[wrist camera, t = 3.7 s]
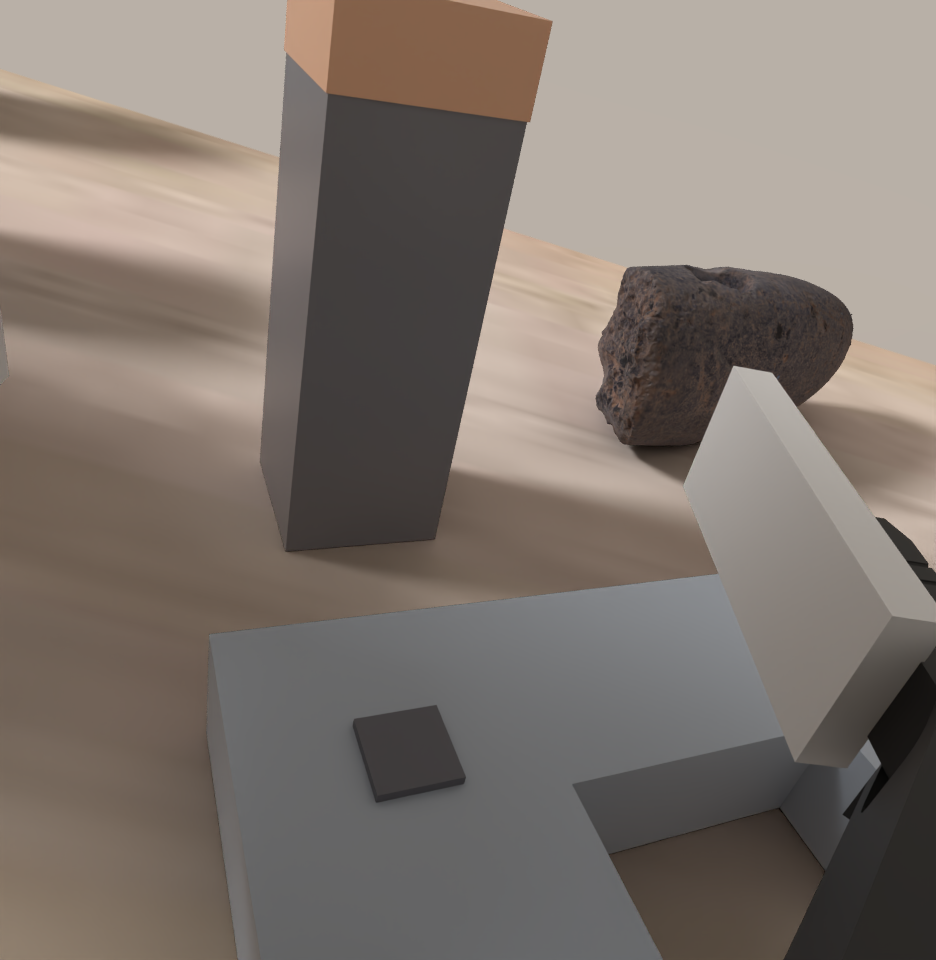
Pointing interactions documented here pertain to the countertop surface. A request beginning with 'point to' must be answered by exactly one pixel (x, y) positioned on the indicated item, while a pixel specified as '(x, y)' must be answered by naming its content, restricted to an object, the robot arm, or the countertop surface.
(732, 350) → the perforated stone tool
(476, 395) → the countertop surface
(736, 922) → the countertop surface
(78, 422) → the countertop surface
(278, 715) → the socket
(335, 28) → the plug
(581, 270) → the countertop surface
